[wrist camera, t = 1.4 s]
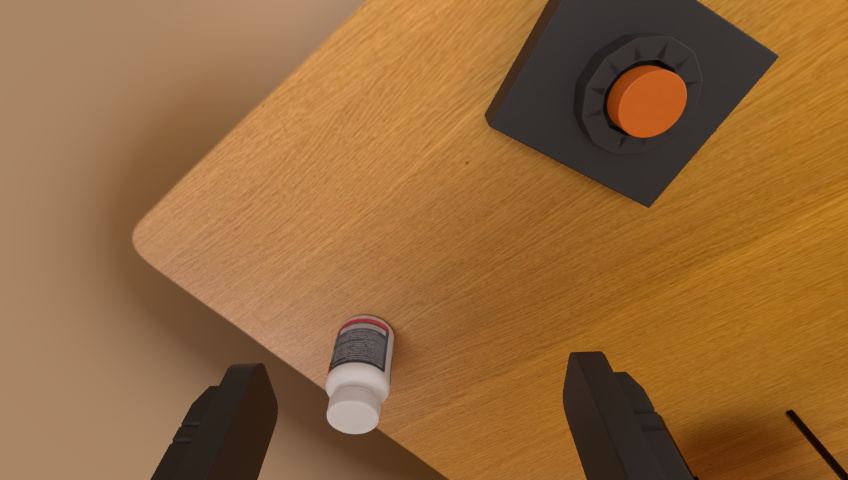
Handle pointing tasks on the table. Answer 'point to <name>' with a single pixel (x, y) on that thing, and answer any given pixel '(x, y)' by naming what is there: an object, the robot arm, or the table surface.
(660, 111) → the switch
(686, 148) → the button base
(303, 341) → the table surface
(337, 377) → the pill bottle
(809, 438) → the planter
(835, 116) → the table surface
